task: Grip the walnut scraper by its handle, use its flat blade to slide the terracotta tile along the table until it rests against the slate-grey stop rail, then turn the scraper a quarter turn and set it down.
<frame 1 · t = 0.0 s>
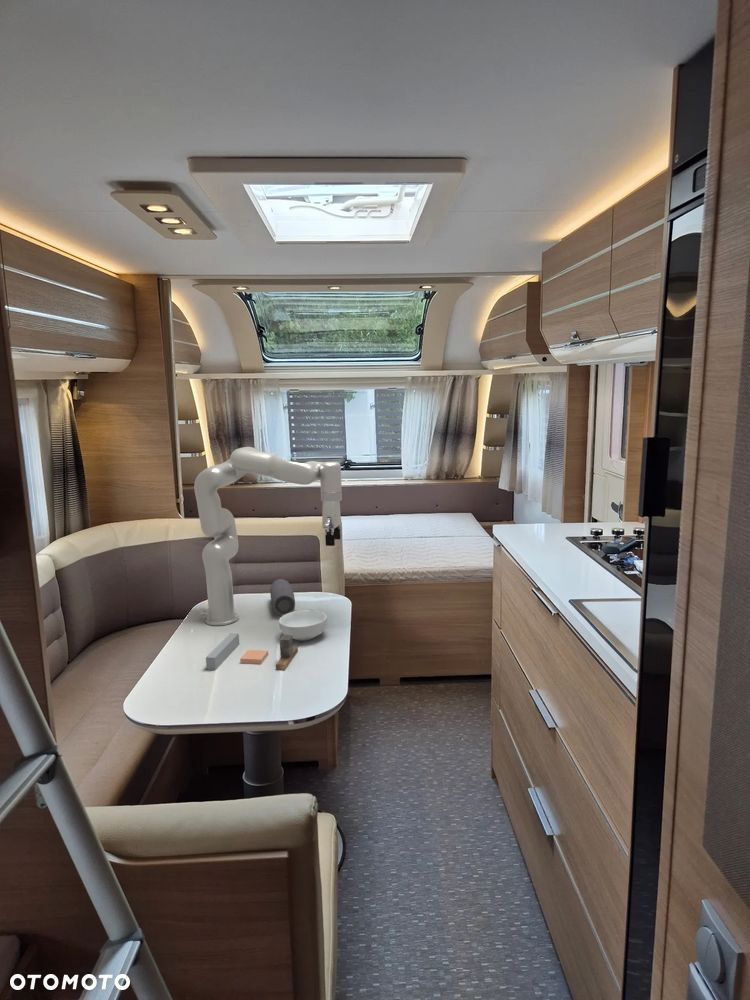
hand: (333, 542, 220), 31 cm above the table, fingers open, 9 cm apart
stop rail: (223, 656, 199), on the table
cereal bowl: (303, 637, 214), on the table
bluetooth speaker: (283, 609, 243), on the table
tile: (254, 660, 196), on the table
scraper: (287, 660, 194), on the table
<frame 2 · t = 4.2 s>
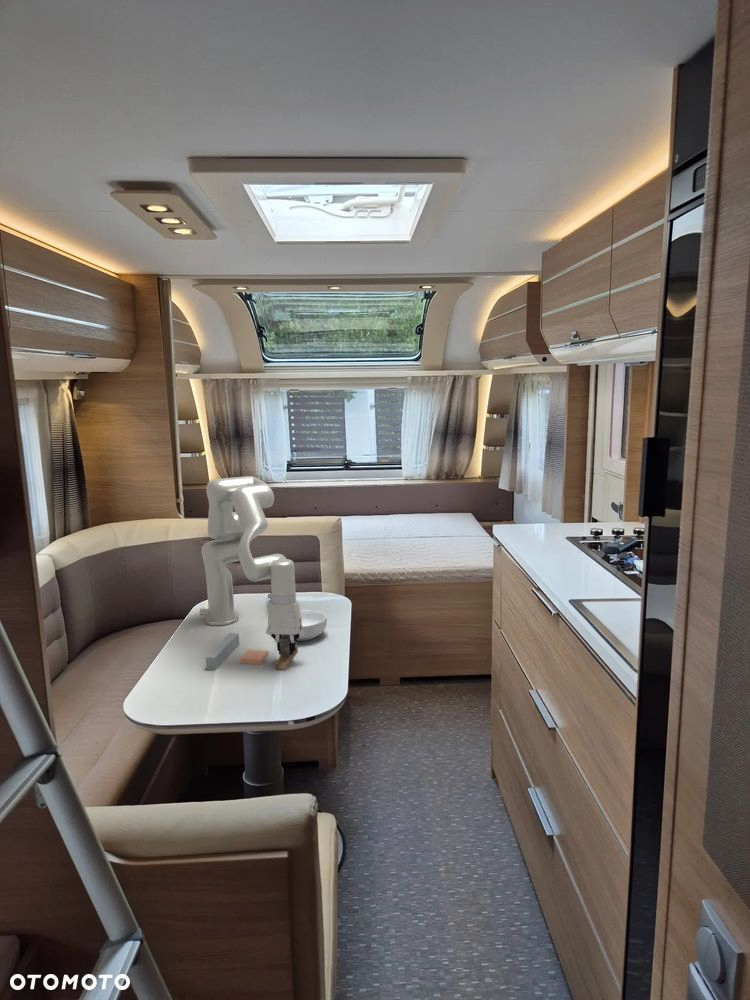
hand: (286, 652, 194), 3 cm above the table, fingers closed on scraper, 3 cm apart
scraper: (287, 660, 194), on the table, touching gripper
everything else where it was.
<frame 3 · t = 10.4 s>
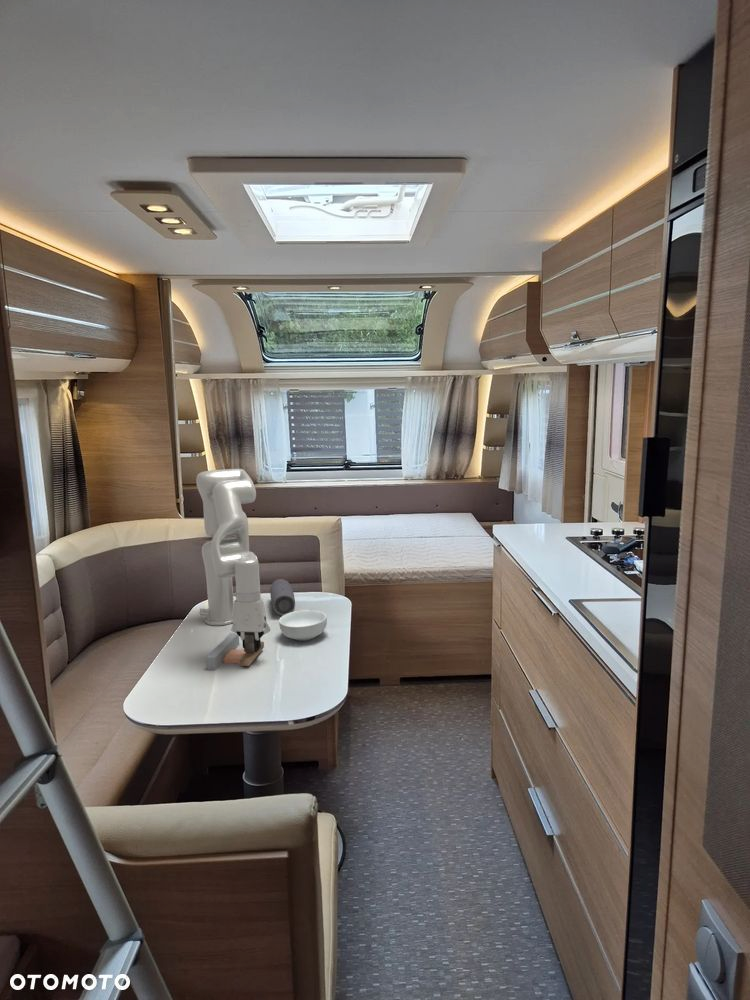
hand: (252, 649, 196), 3 cm above the table, fingers closed on scraper, 2 cm apart
tile: (237, 659, 197), on the table
scraper: (252, 656, 196), point 1 cm above the table, touching gripper
everything else where it was.
when the fingers open (4 cm above the table, at t = 15.2 s): scraper drops 2 cm, on the table.
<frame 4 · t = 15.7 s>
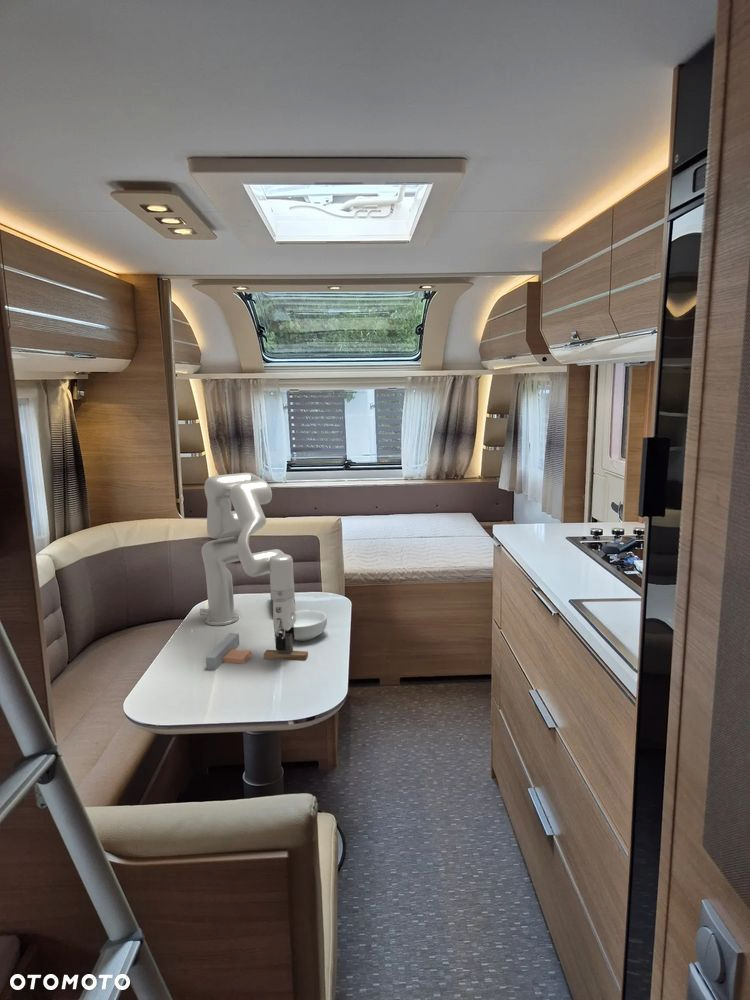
hand: (285, 644, 196), 5 cm above the table, fingers open, 8 cm apart
scraper: (286, 658, 197), on the table
everything else where it was.
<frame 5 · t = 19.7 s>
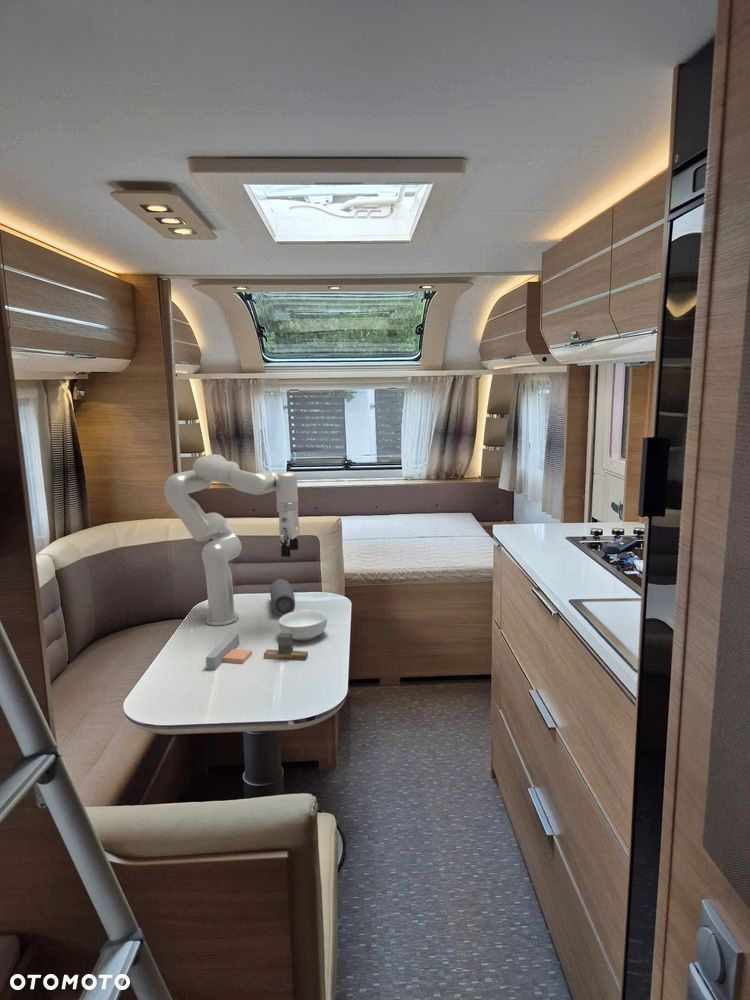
hand: (290, 553, 218), 28 cm above the table, fingers open, 9 cm apart
nothing on the table moved.
at the end: tile inside the target area (0.3 cm from its centre), on the table; scraper inside the target area (0.1 cm from its centre), on the table; the gripper is holding nothing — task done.
